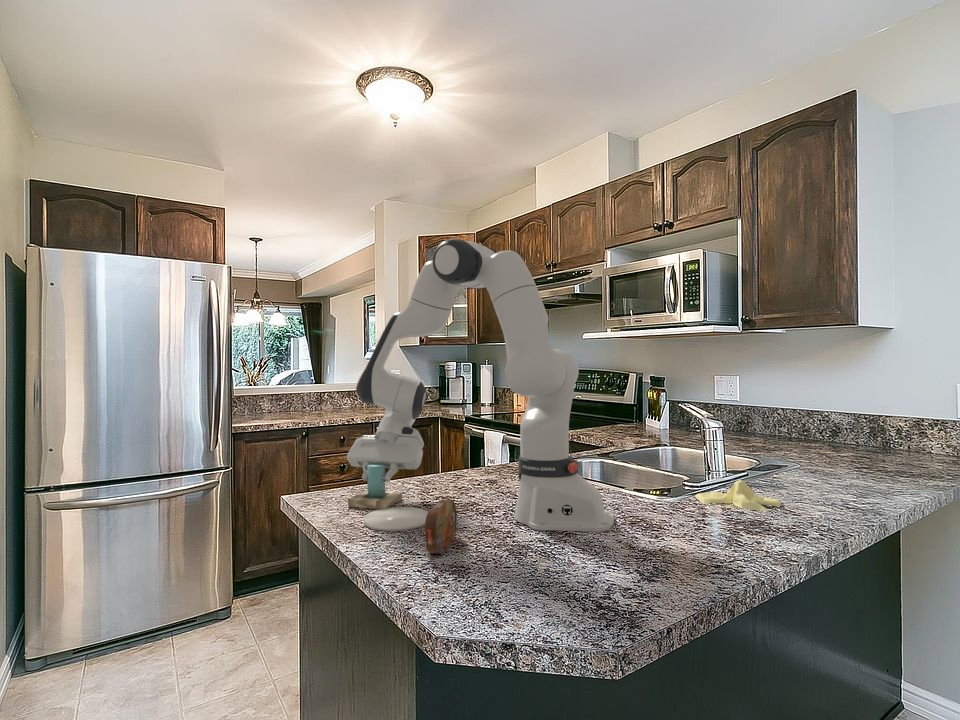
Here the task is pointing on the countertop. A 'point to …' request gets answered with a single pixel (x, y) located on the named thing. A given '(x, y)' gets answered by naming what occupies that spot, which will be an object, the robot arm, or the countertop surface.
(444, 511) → the tin
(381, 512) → the round white disc
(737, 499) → the cloth
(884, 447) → the countertop surface
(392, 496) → the pocket block
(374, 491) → the peg
